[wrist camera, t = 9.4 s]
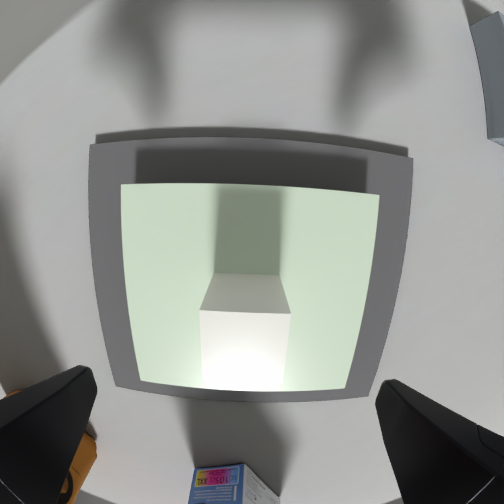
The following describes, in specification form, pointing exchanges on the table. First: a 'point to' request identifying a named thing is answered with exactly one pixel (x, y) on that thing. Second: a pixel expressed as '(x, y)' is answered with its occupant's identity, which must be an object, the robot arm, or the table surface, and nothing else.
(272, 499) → the ink cartridge box
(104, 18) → the table surface
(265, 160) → the rubber mat
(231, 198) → the lid
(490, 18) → the storage box
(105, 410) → the table surface
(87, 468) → the coffee package
